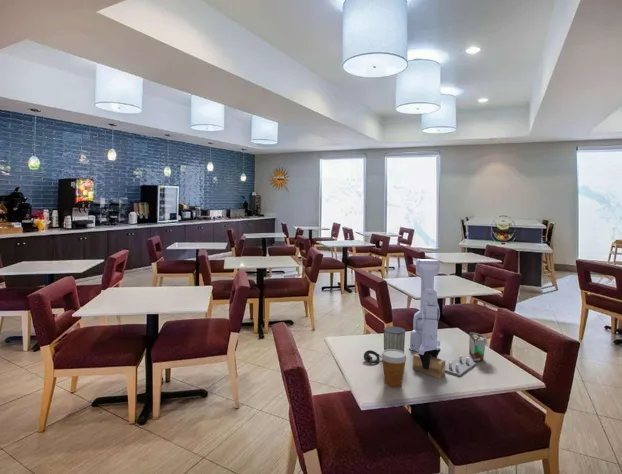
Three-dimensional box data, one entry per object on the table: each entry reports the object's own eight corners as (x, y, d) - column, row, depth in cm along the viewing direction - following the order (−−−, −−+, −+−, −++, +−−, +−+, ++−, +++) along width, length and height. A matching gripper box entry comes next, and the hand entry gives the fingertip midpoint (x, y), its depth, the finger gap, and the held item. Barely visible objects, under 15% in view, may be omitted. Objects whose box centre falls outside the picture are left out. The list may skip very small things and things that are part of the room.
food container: (489, 364, 166) (490, 342, 165) (474, 363, 167) (475, 340, 166) (482, 354, 178) (483, 332, 177) (468, 352, 179) (469, 331, 178)
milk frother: (409, 365, 164) (410, 331, 163) (379, 372, 157) (380, 336, 156) (387, 353, 177) (388, 322, 176) (359, 359, 170) (360, 326, 168)
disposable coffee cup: (377, 378, 151) (378, 348, 150) (401, 378, 152) (402, 348, 151) (384, 390, 142) (385, 358, 141) (409, 389, 142) (410, 358, 141)
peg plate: (440, 370, 159) (440, 362, 159) (458, 359, 171) (458, 352, 171) (459, 376, 154) (459, 368, 153) (476, 364, 166) (476, 357, 165)
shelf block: (439, 378, 152) (439, 363, 152) (412, 368, 161) (413, 354, 160) (444, 375, 155) (445, 360, 155) (418, 365, 164) (419, 352, 163)
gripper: (430, 341, 149) (429, 375, 150) (447, 332, 159) (446, 364, 160) (413, 336, 154) (412, 369, 155) (431, 328, 164) (430, 360, 165)
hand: (428, 367), depth 158 cm, fingers closed on shelf block, 4 cm apart
